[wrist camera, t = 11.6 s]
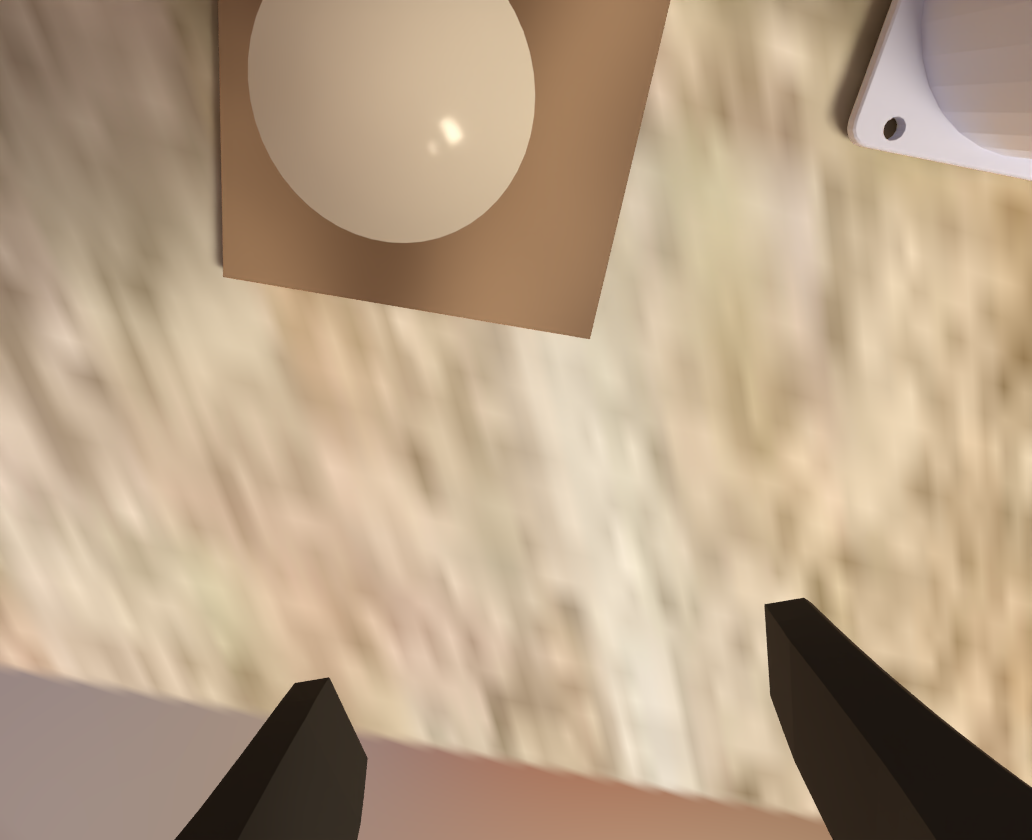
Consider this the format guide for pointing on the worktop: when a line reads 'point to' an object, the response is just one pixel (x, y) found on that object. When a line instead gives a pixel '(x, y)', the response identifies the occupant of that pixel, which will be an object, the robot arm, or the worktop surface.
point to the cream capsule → (393, 108)
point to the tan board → (507, 223)
